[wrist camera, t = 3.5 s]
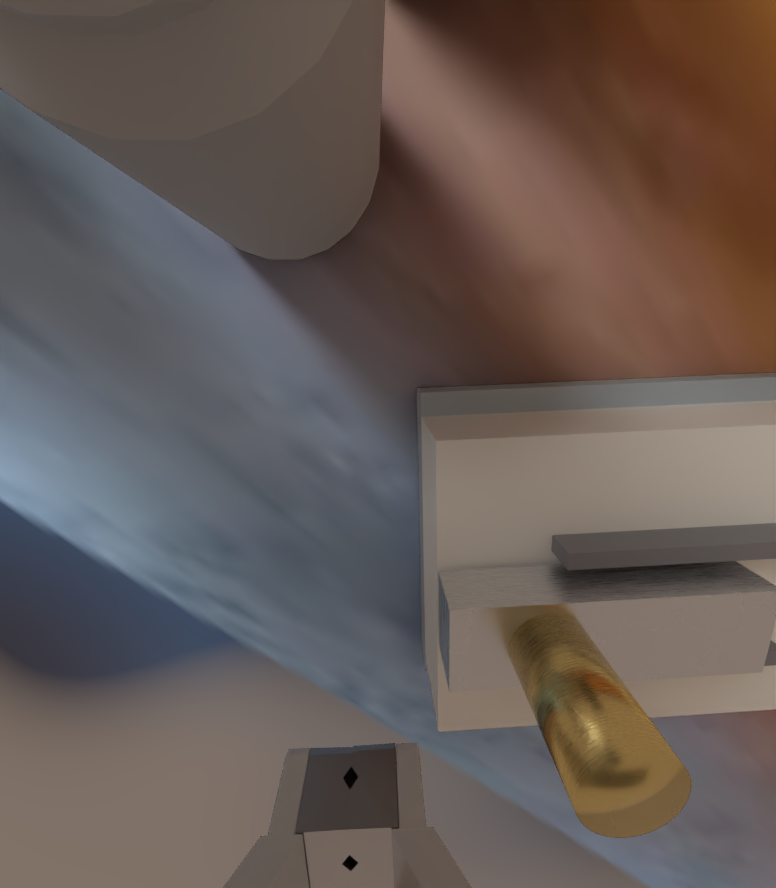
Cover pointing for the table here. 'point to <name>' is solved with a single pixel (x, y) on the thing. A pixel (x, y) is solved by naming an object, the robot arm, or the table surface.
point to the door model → (597, 504)
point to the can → (216, 105)
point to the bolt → (604, 665)
